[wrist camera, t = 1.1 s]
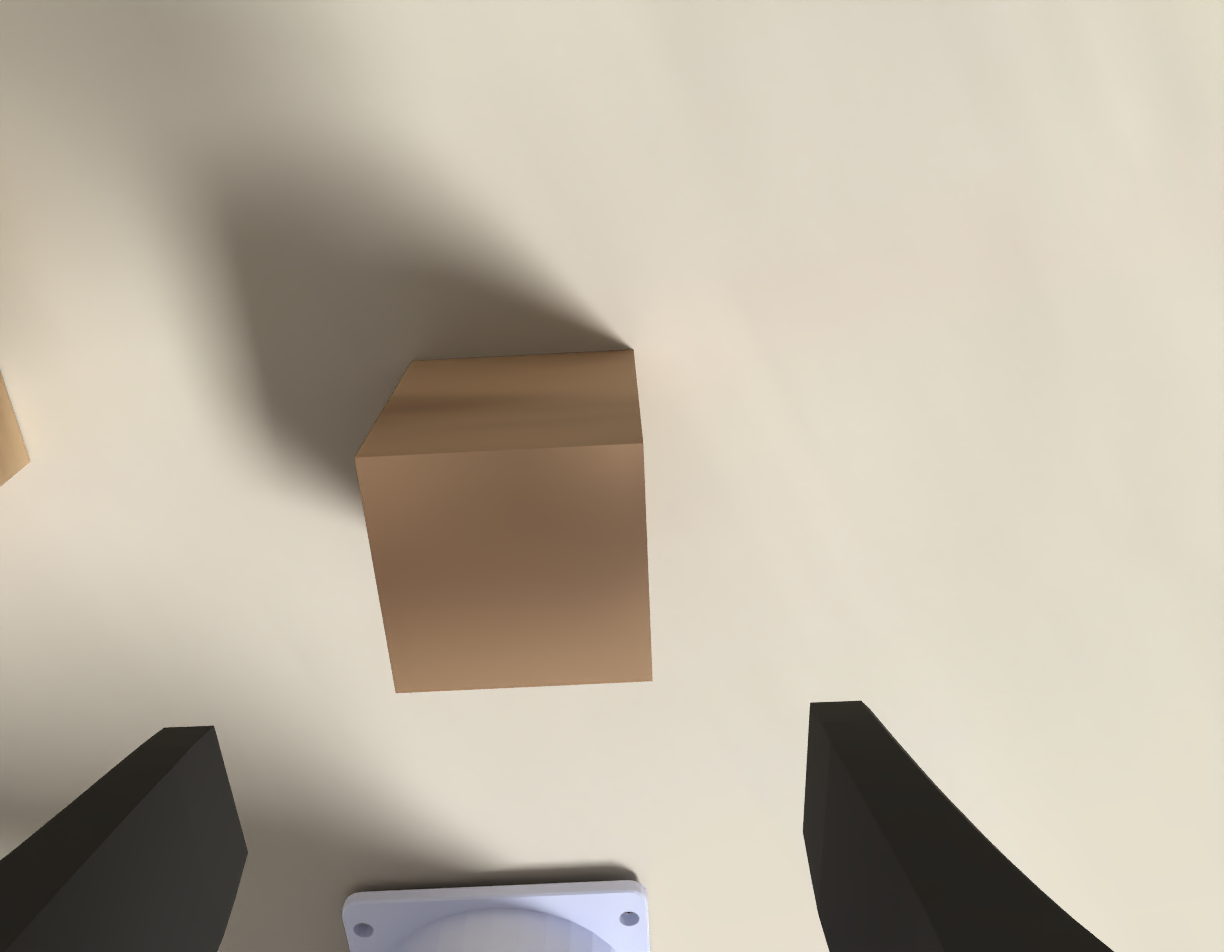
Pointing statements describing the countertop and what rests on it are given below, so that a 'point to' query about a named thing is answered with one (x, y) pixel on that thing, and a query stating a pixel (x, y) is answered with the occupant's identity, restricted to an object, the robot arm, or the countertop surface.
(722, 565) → the countertop surface
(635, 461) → the walnut cube
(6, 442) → the oak slab
